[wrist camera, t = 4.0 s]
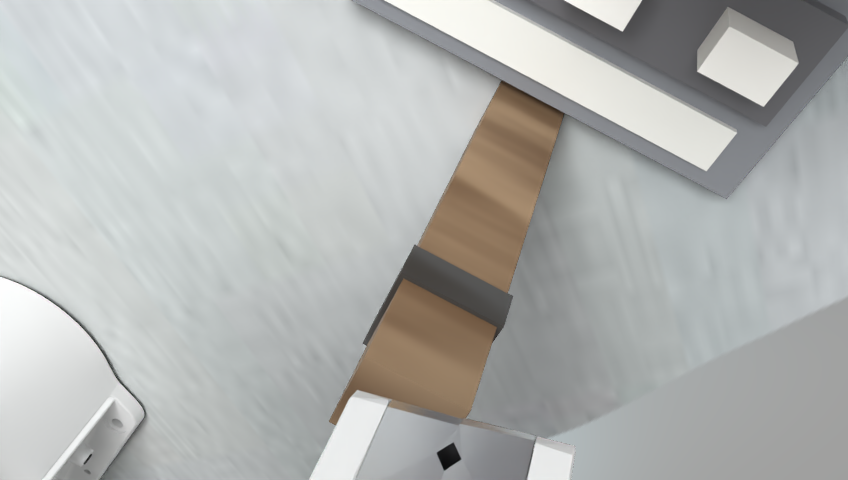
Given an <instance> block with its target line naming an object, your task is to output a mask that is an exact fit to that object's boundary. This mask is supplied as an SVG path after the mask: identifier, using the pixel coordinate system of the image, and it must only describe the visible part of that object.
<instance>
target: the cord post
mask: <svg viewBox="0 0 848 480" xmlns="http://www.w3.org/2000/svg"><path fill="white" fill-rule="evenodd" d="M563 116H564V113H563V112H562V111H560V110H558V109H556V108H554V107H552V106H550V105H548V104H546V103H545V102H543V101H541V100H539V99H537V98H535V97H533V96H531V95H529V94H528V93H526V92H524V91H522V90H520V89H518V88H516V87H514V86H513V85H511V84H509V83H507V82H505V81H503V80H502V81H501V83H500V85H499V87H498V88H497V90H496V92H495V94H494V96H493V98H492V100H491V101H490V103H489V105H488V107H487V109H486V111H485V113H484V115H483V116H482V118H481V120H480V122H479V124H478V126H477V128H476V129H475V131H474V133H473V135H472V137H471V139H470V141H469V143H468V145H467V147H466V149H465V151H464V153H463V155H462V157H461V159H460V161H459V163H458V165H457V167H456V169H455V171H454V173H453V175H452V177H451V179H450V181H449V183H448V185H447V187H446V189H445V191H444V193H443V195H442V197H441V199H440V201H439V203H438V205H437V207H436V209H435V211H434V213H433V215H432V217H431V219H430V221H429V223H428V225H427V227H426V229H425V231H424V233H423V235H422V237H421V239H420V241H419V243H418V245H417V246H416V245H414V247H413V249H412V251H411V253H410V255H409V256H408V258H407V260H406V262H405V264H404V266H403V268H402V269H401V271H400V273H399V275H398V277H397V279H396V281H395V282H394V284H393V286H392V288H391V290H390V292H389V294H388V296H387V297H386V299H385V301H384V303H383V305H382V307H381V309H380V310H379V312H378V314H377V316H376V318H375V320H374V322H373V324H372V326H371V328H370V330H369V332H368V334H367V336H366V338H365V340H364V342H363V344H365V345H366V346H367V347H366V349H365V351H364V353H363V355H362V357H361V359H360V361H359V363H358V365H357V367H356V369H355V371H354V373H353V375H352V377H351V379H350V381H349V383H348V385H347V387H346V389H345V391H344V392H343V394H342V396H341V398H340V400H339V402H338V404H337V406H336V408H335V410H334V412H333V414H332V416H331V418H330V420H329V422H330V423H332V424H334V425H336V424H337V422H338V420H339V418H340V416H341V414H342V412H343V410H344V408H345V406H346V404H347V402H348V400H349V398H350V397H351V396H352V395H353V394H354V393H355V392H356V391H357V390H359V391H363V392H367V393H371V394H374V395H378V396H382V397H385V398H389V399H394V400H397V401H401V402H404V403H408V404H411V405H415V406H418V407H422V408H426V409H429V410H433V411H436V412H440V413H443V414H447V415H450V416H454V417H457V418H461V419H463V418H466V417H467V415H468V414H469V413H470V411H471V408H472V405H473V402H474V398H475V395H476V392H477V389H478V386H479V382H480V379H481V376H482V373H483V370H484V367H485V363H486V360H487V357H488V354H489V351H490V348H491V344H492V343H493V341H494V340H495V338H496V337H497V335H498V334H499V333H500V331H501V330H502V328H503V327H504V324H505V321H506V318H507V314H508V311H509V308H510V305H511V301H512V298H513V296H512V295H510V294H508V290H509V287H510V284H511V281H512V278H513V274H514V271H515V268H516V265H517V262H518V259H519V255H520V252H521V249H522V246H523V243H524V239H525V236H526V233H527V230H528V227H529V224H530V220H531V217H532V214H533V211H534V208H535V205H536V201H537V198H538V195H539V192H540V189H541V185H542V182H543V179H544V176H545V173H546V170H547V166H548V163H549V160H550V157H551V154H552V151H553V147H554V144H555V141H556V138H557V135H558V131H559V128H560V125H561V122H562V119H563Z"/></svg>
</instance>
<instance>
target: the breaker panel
mask: <svg viewBox="0 0 848 480" xmlns="http://www.w3.org/2000/svg"><path fill="white" fill-rule="evenodd" d="M352 1H354V2H356V3H358V4H360V5H362V6H364V7H365V8H367V9H369V10H371V11H373V12H375V13H377V14H379V15H381V16H382V17H384V18H386V19H388V20H390V21H392V22H394V23H396V24H398V25H399V26H401V27H403V28H405V29H407V30H409V31H411V32H413V33H414V34H416V35H418V36H420V37H422V38H424V39H426V40H428V41H430V42H431V43H433V44H435V45H437V46H439V47H441V48H443V49H445V50H447V51H448V52H450V53H452V54H454V55H456V56H458V57H460V58H462V59H464V60H465V61H467V62H469V63H471V64H473V65H475V66H477V67H479V68H480V69H482V70H484V71H486V72H488V73H490V74H492V75H494V76H496V77H497V78H499V79H501V80H503V81H505V82H507V83H509V84H511V85H513V86H514V87H516V88H518V89H520V90H522V91H524V92H526V93H528V94H529V95H531V96H533V97H535V98H537V99H539V100H541V101H543V102H545V103H546V104H548V105H550V106H552V107H554V108H556V109H558V110H560V111H562V112H563V113H565V114H567V115H569V116H571V117H573V118H575V119H577V120H579V121H580V122H582V123H584V124H586V125H588V126H590V127H592V128H594V129H595V130H597V131H599V132H601V133H603V134H605V135H607V136H609V137H611V138H612V139H614V140H616V141H618V142H620V143H622V144H624V145H626V146H628V147H629V148H631V149H633V150H635V151H637V152H639V153H641V154H643V155H644V156H646V157H648V158H650V159H652V160H654V161H656V162H658V163H660V164H661V165H663V166H665V167H667V168H669V169H671V170H673V171H675V172H677V173H678V174H680V175H682V176H684V177H686V178H688V179H690V180H692V181H694V182H695V183H697V184H699V185H701V186H703V187H705V188H707V189H709V190H710V191H712V192H714V193H716V194H718V195H720V196H722V197H724V198H726V199H727V198H728V197H729V196H730V195H731V193H732V192H733V191H734V190H735V189H736V187H737V186H738V185H739V184H740V183H741V182H742V180H743V179H744V178H745V177H746V176H747V174H748V173H749V172H750V171H751V170H752V169H753V167H754V166H755V165H756V164H757V163H758V162H759V160H760V159H761V158H762V157H763V156H764V154H765V153H766V152H767V151H768V150H769V149H770V147H771V146H772V145H773V144H774V143H775V141H776V140H777V139H778V138H779V137H780V136H781V134H782V133H783V132H784V131H785V130H786V129H787V127H788V126H789V125H790V124H791V123H792V121H793V120H794V119H795V118H796V117H797V116H798V114H799V113H800V112H801V111H802V110H803V108H804V107H805V106H806V105H807V104H808V103H809V101H810V100H811V99H812V98H813V97H814V96H815V94H816V93H817V92H818V91H819V90H820V88H821V87H822V86H823V85H824V84H825V83H826V81H827V80H828V79H829V78H830V77H831V75H832V74H833V73H834V72H835V71H836V70H837V68H838V67H839V66H840V65H841V64H842V63H843V61H844V60H845V59H846V58H847V57H848V0H352Z"/></svg>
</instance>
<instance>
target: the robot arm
mask: <svg viewBox="0 0 848 480" xmlns="http://www.w3.org/2000/svg"><path fill="white" fill-rule="evenodd" d="M143 418H144V411H143V409H142V407H141V405H140V404H139V403H138V402H137V400H136V399H135V398H134V397H133V396H132V395H131V394H130V393H129V392H128V391H127V390H126V389H125V388H124V387H123V386H122V385H121V384H120V383H119V381H118V380H117V378H116V377H115V375H114V374H113V372H112V370H111V368H110V366H109V364H108V362H107V360H106V359H105V357H104V355H103V354H102V352H101V351H100V349H99V348H98V346H97V345H96V344H95V342H94V341H93V340H92V339H91V337H90V336H89V335H88V334H87V333H86V332H85V331H84V330H83V328H82V327H81V326H80V325H79V324H78V323H77V322H75V321H74V320H73V319H72V318H71V317H70V316H69V315H68V314H66V313H65V312H64V311H63V310H61V309H60V308H59V307H58V306H56V305H55V304H53V303H52V302H51V301H49V300H48V299H46V298H44V297H43V296H41V295H40V294H38V293H36V292H34V291H33V290H31V289H29V288H27V287H25V286H23V285H20V284H18V283H16V282H13V281H11V280H8V279H5V278H2V277H0V480H99V479H100V478H101V477H102V475H103V474H104V472H105V471H106V470H107V468H108V467H109V465H110V464H111V463H112V461H113V460H114V458H115V457H116V456H117V454H118V453H119V451H120V450H121V449H122V447H123V446H124V445H125V443H126V442H127V440H128V439H129V438H130V436H131V435H132V433H133V432H134V431H135V429H136V428H137V426H138V425H139V424H140V422H141V421H142V419H143ZM535 438H536V435H532V434H528V433H524V432H520V431H516V430H512V429H507V428H503V427H499V426H495V425H491V424H487V423H483V422H478V421H474V420H470V419H466V418H463V419H461V418H457V417H454V416H450V415H447V414H443V413H440V412H436V411H433V410H429V409H426V408H422V407H418V406H415V405H411V404H408V403H404V402H401V401H397V400H394V399H389V398H385V397H382V396H378V395H374V394H371V393H367V392H363V391H359V390H357V391H356V392H355V393H354V394H353V395H352V396H351V397H350V398H349V400H348V402H347V404H346V406H345V408H344V410H343V412H342V414H341V416H340V418H339V420H338V422H337V424H336V426H335V428H334V430H333V432H332V434H331V436H330V438H329V440H328V442H327V444H326V446H325V448H324V450H323V452H322V454H321V456H320V458H319V460H318V462H317V464H316V466H315V468H314V470H313V472H312V474H311V476H310V478H309V480H571V476H572V471H573V465H574V459H575V446H573V445H570V444H566V443H562V442H558V441H554V440H550V439H546V438H542V437H538V436H537V438H536V441H535ZM534 444H535V446H534ZM533 449H534V450H533ZM532 454H533V455H532Z"/></svg>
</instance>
